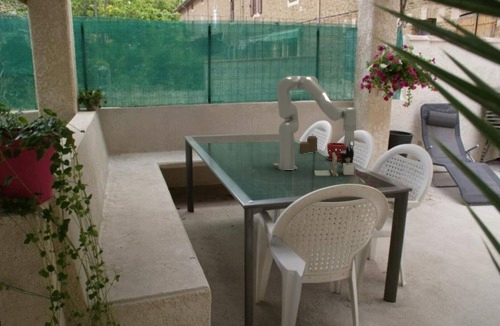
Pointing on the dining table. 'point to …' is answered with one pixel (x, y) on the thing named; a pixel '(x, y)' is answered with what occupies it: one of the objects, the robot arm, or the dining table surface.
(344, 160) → the coffee mug
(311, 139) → the brown stepped block
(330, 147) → the plant pot
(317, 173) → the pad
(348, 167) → the letter cube
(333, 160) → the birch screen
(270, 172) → the dining table surface
